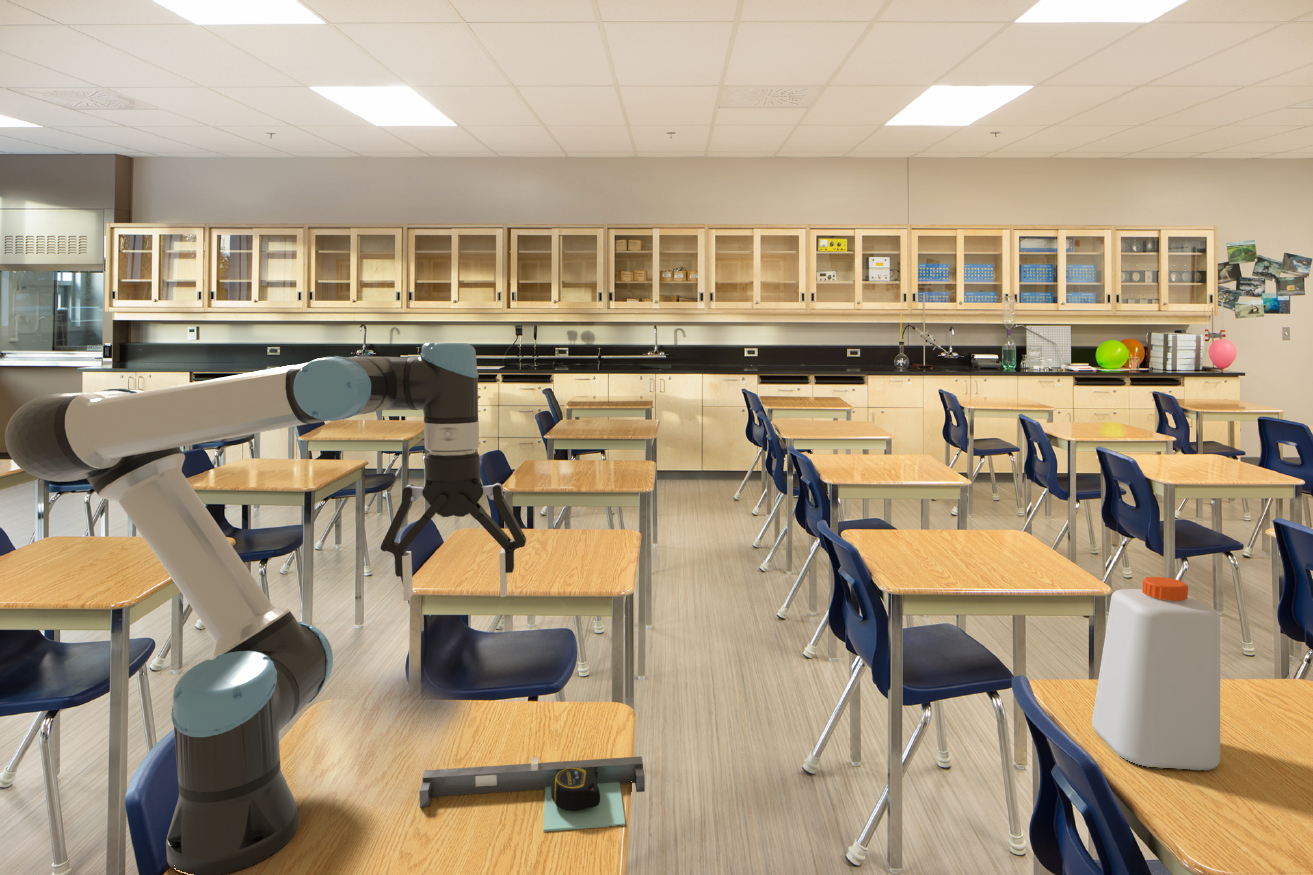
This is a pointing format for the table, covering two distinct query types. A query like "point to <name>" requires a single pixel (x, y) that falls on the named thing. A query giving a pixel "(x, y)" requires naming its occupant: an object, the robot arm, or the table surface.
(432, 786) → the rail
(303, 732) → the table surface
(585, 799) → the tape measure
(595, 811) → the pad
